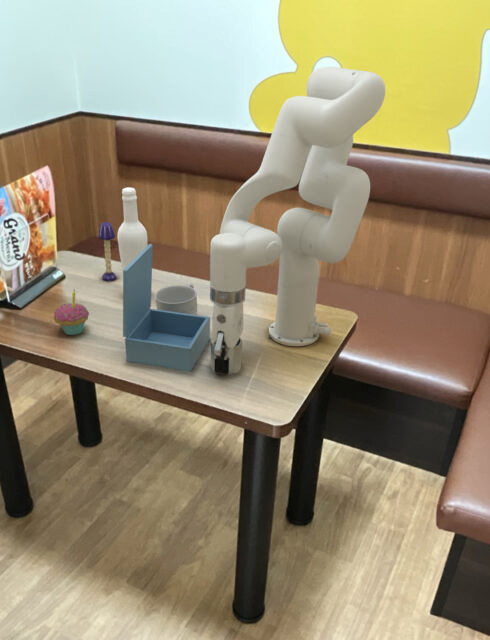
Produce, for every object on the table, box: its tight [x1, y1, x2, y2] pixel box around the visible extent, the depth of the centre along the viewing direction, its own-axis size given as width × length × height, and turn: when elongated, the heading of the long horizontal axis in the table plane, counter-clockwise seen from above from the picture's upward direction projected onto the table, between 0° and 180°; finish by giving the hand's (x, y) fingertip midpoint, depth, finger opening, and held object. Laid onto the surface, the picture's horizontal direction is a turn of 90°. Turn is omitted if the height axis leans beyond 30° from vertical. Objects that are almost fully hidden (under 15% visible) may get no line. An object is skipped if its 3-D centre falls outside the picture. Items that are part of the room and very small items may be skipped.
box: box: [124, 308, 211, 373], centre depth 144 cm, size 16×16×7 cm
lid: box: [122, 243, 154, 338], centre depth 138 cm, size 16×16×1 cm
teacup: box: [154, 282, 198, 315], centre depth 157 cm, size 14×11×8 cm
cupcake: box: [53, 288, 90, 336], centre depth 151 cm, size 9×8×12 cm
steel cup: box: [210, 337, 243, 375], centre depth 137 cm, size 7×7×8 cm
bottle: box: [116, 186, 148, 295], centre depth 162 cm, size 8×8×30 cm
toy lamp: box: [98, 221, 118, 282], centre depth 176 cm, size 5×5×17 cm
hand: (226, 363), depth 139 cm, fingers closed on steel cup, 6 cm apart
